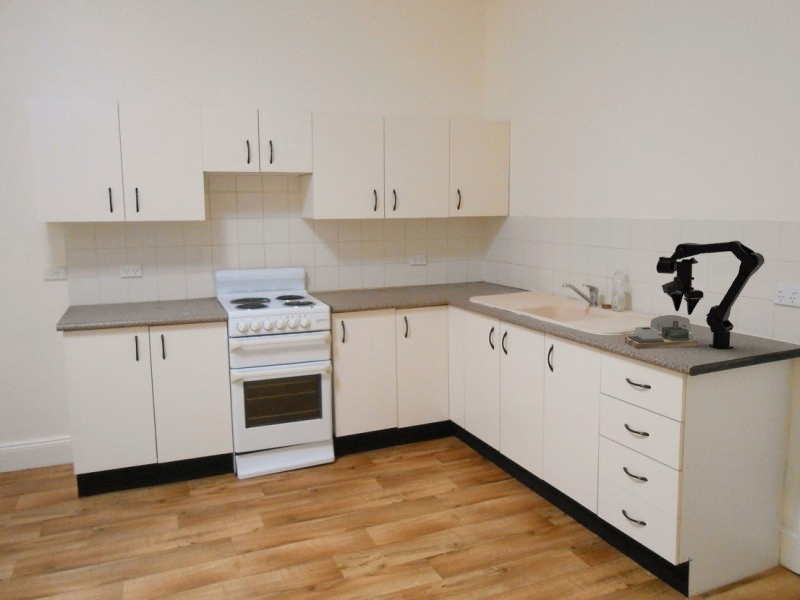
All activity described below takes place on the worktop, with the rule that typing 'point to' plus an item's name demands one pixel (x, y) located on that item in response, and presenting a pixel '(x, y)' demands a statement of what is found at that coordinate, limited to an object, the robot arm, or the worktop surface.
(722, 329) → the robot arm
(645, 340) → the mat
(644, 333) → the collar
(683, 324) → the grey arched bracket
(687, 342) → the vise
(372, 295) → the worktop surface
